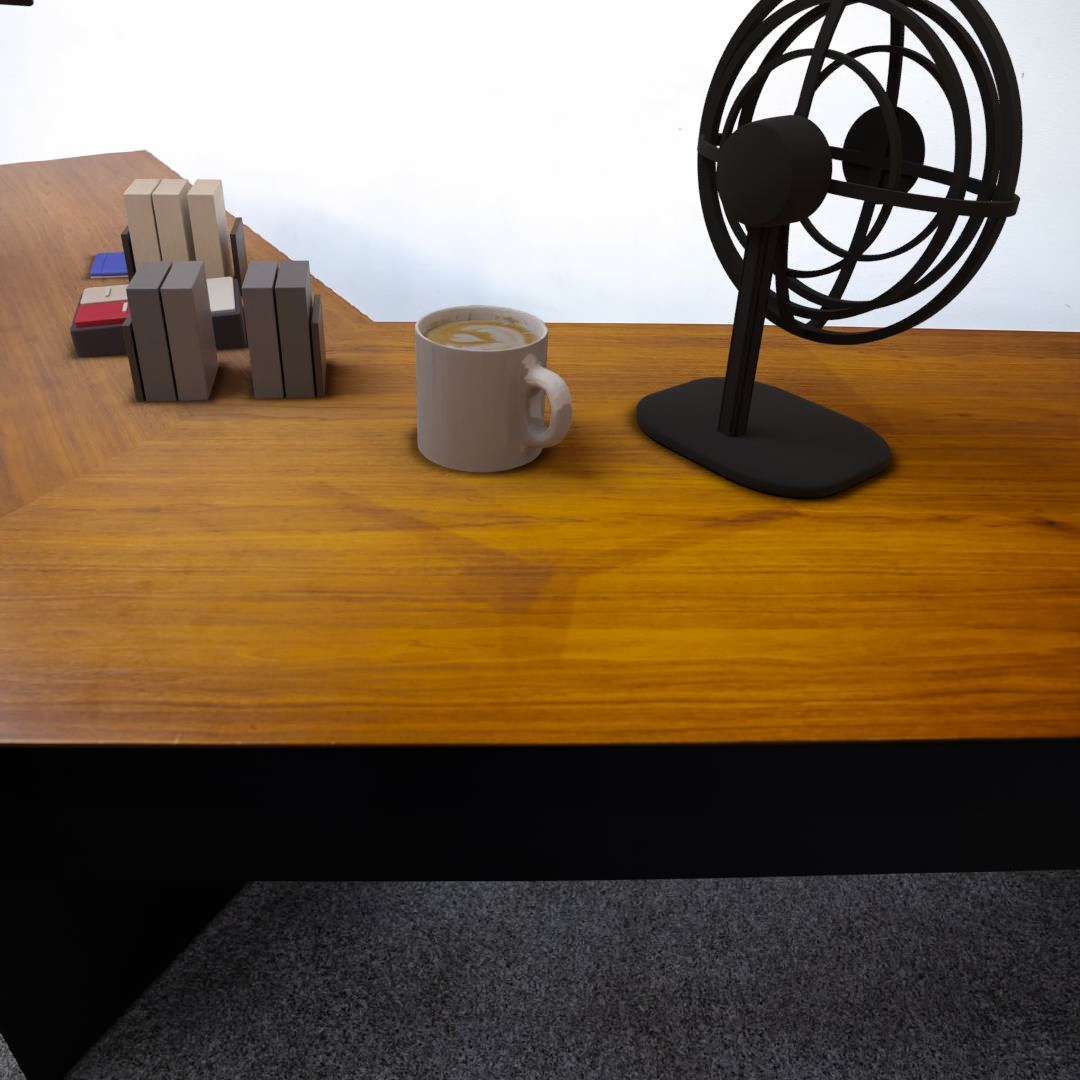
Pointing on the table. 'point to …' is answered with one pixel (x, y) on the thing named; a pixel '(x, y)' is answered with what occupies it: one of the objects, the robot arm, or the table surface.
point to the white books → (167, 226)
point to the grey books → (188, 337)
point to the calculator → (109, 309)
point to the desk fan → (795, 194)
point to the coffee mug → (486, 388)
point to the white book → (210, 227)
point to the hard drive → (109, 265)
